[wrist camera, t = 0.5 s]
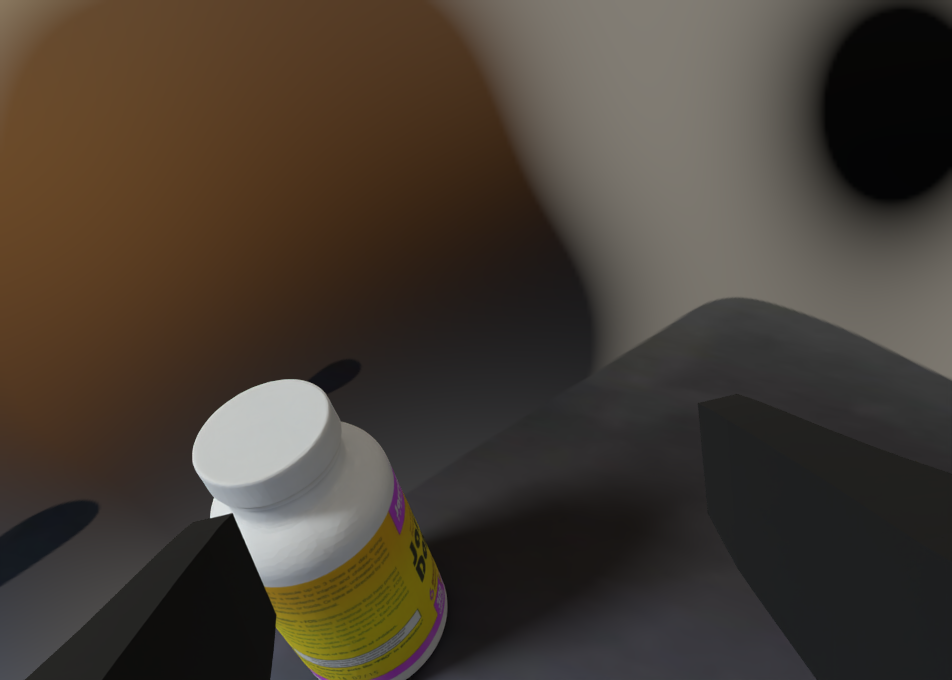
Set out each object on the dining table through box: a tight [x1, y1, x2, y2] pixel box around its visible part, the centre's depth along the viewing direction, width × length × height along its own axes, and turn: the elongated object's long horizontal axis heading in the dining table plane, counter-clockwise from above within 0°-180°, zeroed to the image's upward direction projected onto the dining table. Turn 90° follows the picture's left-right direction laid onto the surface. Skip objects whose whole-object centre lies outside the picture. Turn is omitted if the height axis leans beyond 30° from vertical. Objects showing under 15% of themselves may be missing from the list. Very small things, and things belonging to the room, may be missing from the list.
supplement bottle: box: [193, 379, 447, 680], centre depth 25 cm, size 7×7×13 cm
